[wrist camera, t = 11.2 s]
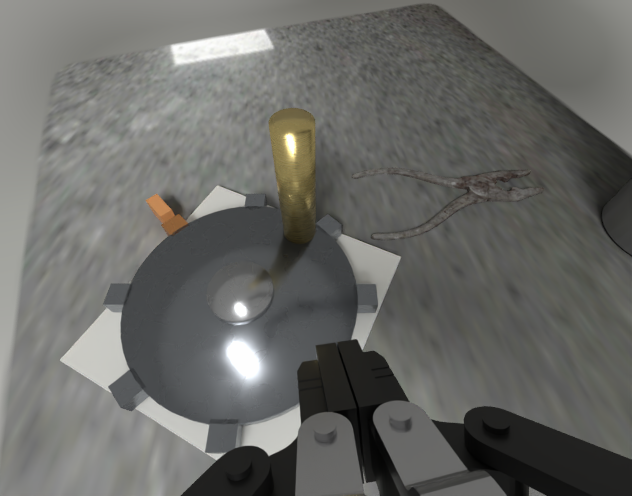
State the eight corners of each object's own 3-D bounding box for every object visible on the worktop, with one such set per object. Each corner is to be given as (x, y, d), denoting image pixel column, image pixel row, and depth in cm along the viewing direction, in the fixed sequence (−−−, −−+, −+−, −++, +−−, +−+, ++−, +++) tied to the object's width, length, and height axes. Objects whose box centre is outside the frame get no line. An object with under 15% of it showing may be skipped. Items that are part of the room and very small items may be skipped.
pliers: (337, 176, 36) (491, 133, 40) (337, 182, 37) (488, 139, 41) (378, 245, 31) (549, 189, 35) (376, 250, 32) (545, 194, 36)
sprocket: (63, 302, 27) (-93, 197, 17) (262, 173, 35) (239, 49, 25) (213, 543, 19) (88, 631, 9) (427, 302, 27) (496, 198, 17)
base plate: (188, 178, 37) (182, 164, 35) (399, 261, 31) (404, 249, 29) (29, 339, 27) (10, 331, 25) (296, 509, 21) (294, 512, 19)
